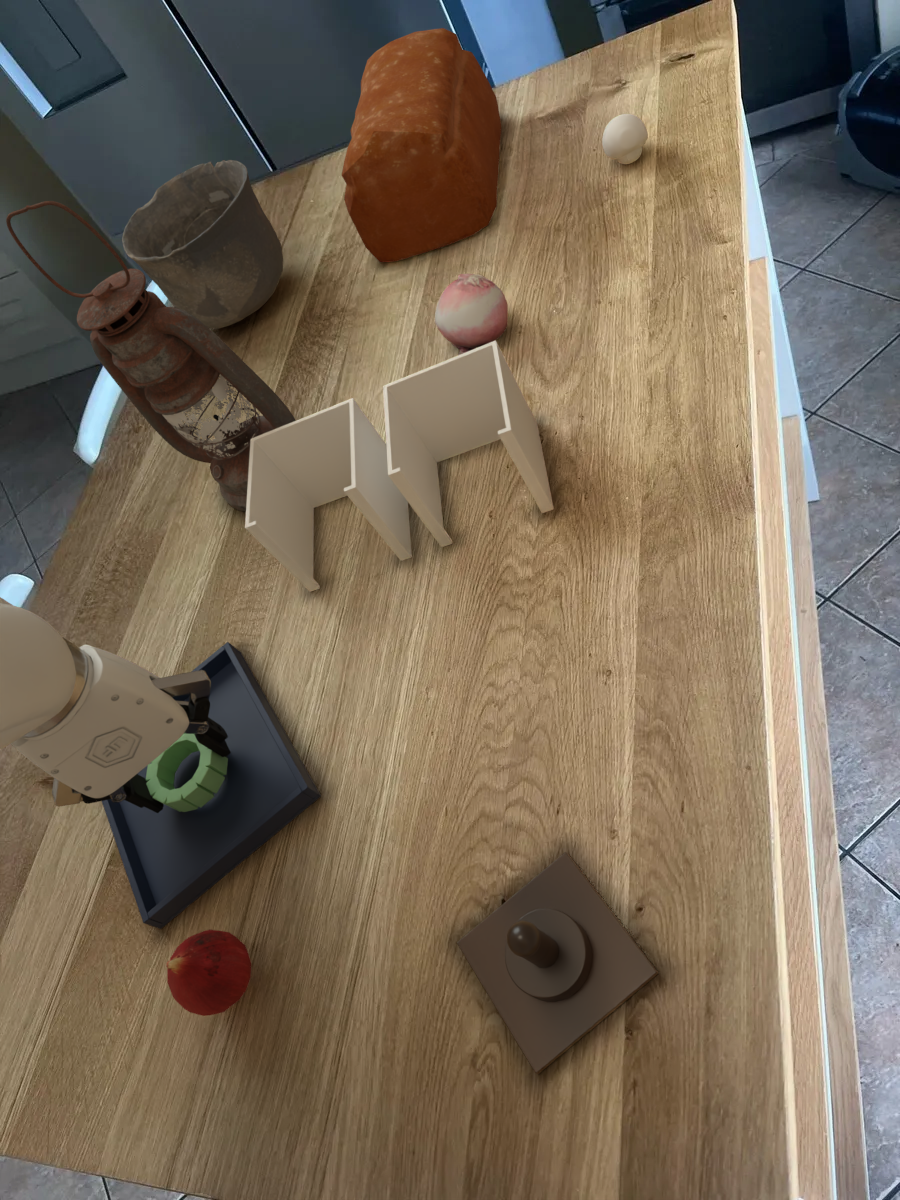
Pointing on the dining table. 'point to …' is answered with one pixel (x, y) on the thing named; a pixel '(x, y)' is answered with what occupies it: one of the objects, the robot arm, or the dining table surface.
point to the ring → (195, 789)
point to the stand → (555, 961)
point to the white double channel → (389, 456)
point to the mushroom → (624, 138)
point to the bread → (422, 147)
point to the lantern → (175, 371)
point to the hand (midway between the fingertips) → (188, 770)
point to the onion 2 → (471, 312)
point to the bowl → (208, 244)
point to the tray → (214, 800)
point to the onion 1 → (209, 972)
